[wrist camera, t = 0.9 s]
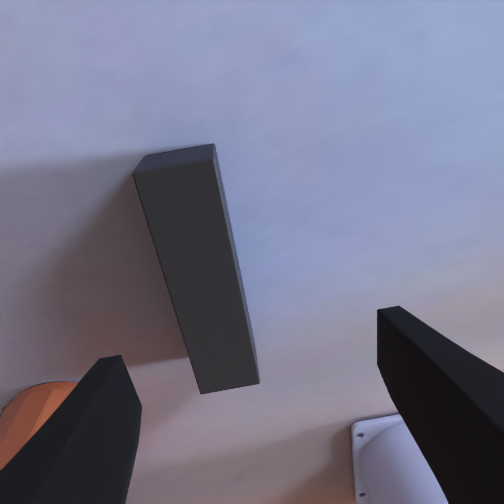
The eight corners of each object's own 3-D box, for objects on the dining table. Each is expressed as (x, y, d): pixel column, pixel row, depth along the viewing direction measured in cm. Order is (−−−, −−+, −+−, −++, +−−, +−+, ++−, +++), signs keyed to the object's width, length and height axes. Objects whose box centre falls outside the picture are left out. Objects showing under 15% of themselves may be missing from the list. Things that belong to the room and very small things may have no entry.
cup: (152, 456, 26) (135, 569, 20) (34, 478, 26) (-17, 596, 20) (114, 370, 22) (79, 477, 17) (-24, 395, 22) (-107, 511, 17)
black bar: (255, 345, 23) (260, 384, 20) (202, 355, 23) (200, 395, 20) (214, 142, 17) (214, 158, 14) (144, 155, 17) (131, 172, 14)
